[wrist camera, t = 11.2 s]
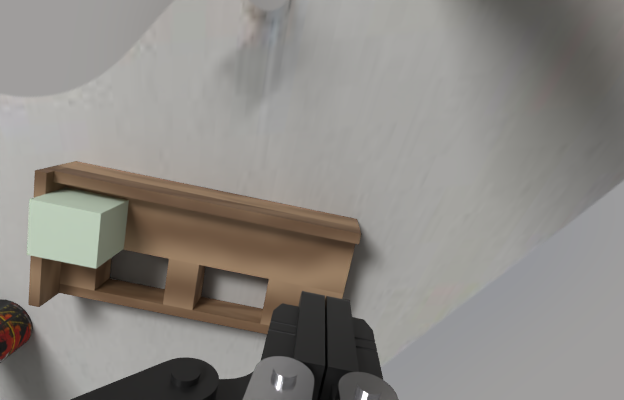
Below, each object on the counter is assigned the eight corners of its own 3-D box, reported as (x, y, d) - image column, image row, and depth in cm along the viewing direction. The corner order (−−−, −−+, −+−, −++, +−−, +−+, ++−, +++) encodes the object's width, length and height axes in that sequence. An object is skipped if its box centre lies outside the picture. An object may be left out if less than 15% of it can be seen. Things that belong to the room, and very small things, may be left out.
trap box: (75, 161, 41) (35, 170, 35) (356, 219, 42) (362, 237, 36) (67, 278, 44) (28, 304, 38) (330, 330, 45) (331, 364, 39)
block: (66, 187, 39) (29, 199, 34) (128, 200, 39) (100, 213, 34) (63, 236, 40) (26, 254, 35) (123, 248, 40) (96, 268, 35)
